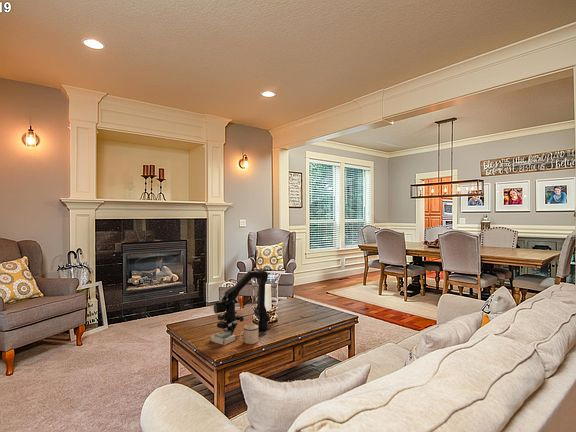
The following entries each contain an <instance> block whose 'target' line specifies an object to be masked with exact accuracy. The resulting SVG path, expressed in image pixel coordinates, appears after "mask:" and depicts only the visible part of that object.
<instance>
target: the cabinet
mask: <svg viewBox="0 0 576 432" xmlns="http://www.w3.org/2000/svg"><path fill="white" fill-rule="evenodd" d="M214 335H215V337H219V338H222V339H225V338H228V337H230V336H232V335H231V331H230V330H228V329H227V328H225V329H223V330H222V331H219V332H216V333H215V334H214Z"/></svg>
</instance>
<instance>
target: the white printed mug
mask: <svg viewBox="0 0 576 432" xmlns="http://www.w3.org/2000/svg"><path fill="white" fill-rule="evenodd" d="M258 328H259V324H255V323H254V322H252V321H250V322H249V323H247V324H245V325H244V326H243V331H241V332H240V333H239V338H240V339H241V340H243V342H244V344H247V345H254V344H257V343H258V342H259V330H258ZM242 335H243V337H242Z"/></svg>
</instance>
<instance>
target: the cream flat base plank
mask: <svg viewBox="0 0 576 432" xmlns="http://www.w3.org/2000/svg"><path fill="white" fill-rule="evenodd" d="M234 341H236V334H232V335H231V336H230V337H228V338H225V339H222V338H219V337H215V334H213V335H211V336H210V342H212V343H215V344H219V345H223V346H226V345H228V344H230V343H232V342H234Z"/></svg>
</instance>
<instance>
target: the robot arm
mask: <svg viewBox="0 0 576 432" xmlns="http://www.w3.org/2000/svg"><path fill="white" fill-rule="evenodd" d="M268 278H269V273H268V272H267V271H266V270H262V269H258V270H254V271H253V270H252V271H247V272H246V274H245V275H244V276H243V277H241V279H240V280H239V281H237V283H236V284H235V285H233V286H231V287H230V288H228V289H227V290H226V291H225V292H224V295H223V297H222V299H221V300H220V301H215V302H214V305H213V313H214V314H216V315H217V320H218V321H220V322H217V323H216V328H218V329H227V330H230V331H231V336H232V335H234V334H233V333H234V332H235V329H236V327H237V326H238V324H239V323H237V321H239V322H240V323H242V322H243V321H244V320H245V318H244V316H243V315H239V314H237V311H236V304H238V303H239V301H238V300H237V298H238V296H239V295H240V292H241V291H242V290H243V289H244V288H245V286H246V285H247V284H248V283H249V282H251V280H252V279H256V282H257V305H256V306H255V307H254V312H253V314H254V316H255V317H256V319H257V320H258V327H259V328H258V331H262V332H266V331H268V330H270V329H271V328H270V327H269V322H270V321H271V317H270V316H269V315H268V313H267V312H268V311H267V309H266V305H265V303H266V284H267V281H268ZM221 313H223V314H221Z"/></svg>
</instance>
